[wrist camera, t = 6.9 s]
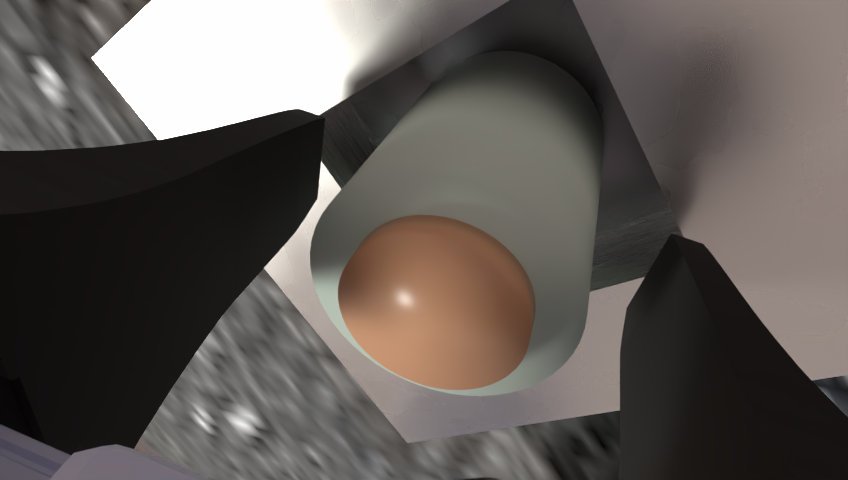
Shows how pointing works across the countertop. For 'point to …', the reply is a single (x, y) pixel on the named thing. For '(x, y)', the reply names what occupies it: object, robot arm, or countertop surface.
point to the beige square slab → (622, 161)
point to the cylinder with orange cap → (470, 230)
